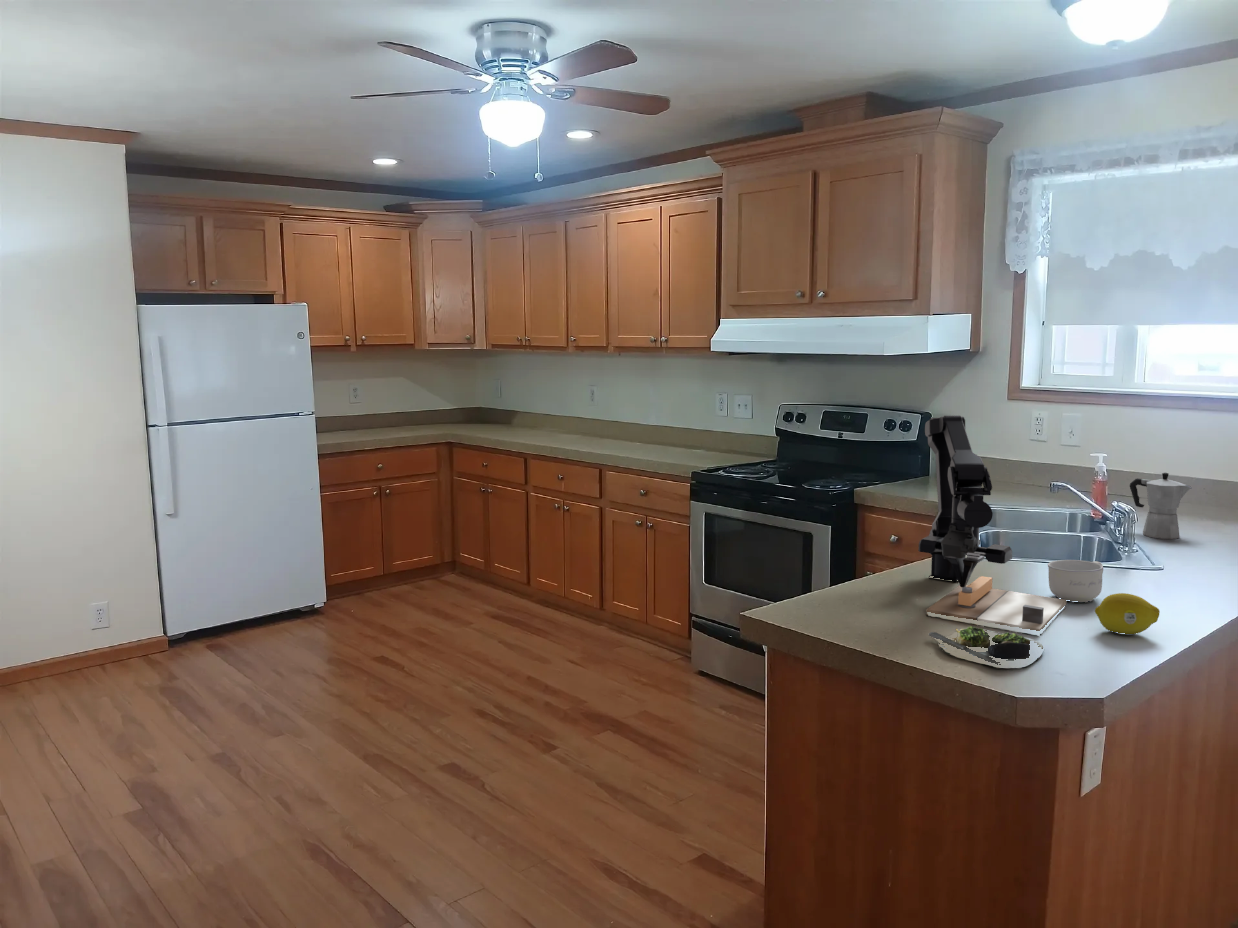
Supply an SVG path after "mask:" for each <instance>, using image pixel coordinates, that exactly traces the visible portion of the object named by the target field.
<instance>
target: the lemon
mask: <svg viewBox="0 0 1238 928" xmlns="http://www.w3.org/2000/svg"><path fill="white" fill-rule="evenodd" d="M1094 612H1095V615H1096V616H1097V617H1098V620H1099V622H1100V624H1101V625H1102V627H1103V628H1104V629H1105V630H1108V631H1109V630H1110V631H1109V632H1111V631H1113V632H1118V633H1125V634H1133V635H1136V633H1137V634H1141V633H1142V632H1144V631H1146V630H1148V629H1149V628H1150V627H1151V626H1152V625H1154V624H1155V623H1156V622H1158V619H1159V617H1160V609H1159V608H1158V607H1157V606H1156V605H1153V604H1151V603H1150V602H1149V601H1147V600H1146V599H1144V598H1142V597H1141V596H1138V595H1135V594H1132V593H1123V592H1118V593H1113V594H1109V595H1106V597H1105V598H1104V599H1103V600H1102V601H1101V602H1100V604H1099V605H1098V606H1096V608H1095V609H1094ZM1113 632H1112V633H1113Z"/></svg>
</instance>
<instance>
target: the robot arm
mask: <svg viewBox="0 0 1238 928" xmlns="http://www.w3.org/2000/svg"><path fill="white" fill-rule="evenodd" d="M966 428H967V427H966V418H965V417H964V416H961V415H959V414H958V415H954V414H953V415H951V414H949V415H943V416H940V417H930V418H929V420H927V421H926V422H925V424H924V433H925V434H924V435H925V437H927V444H928V446H929V448H930V449H931V450H932V452H933V453H934V454H935V467H936V468H935V470H936V487H937V488H936V489H937V490H936V491H937V507H938V508H937V509H938V510H937V511H938V512H937V513H938V514H937V515H936V517H935V519H934V520H933V522H932V524H931V529H930V531H929V535H927V536H925V537H923V538H921V539H920V540H919V542H918V552H920V553H927V554H930V555H931V566H930V568H931V570H930V571H931V573H930V575H928V578H929V577H930V576H934V577H933V578H940V579H944V580H952V581H957V580H958V581H957V582H958V584H959V585H960V587H966V585H968V582H969V580H970V578H971V576H972V574H973V572H974V570H975V568H976V567H977V565H978V563H980V562H982V561H984V560H985V559H986V561H987V562H989V563H994V564H995V563H996V564H1000V565H1001V564H1006V563H1007V562H1008V563H1009V561H1011V560H1012V559H1013V549H1012V548H1011V546H1009V545H1002V544H996V543H994V544H992V545H990V546H988V547H986V546H985V547H984V546H980V545H981V539H980V529H981V528H984V527H986V526H987V525H988V524H989V523H990V522H991V521H992V519H993V510H992V507H991V506H990V505H989V504H988V503H987V502H985V500H984V496H991V495H992V490H993V485H992V481H991V475H990V471H988V467H987V466H985V464H984V461H983V459H982V457H981V456H979V455H978V454H976V453H974V452H973V449H972V447H971V443H970V440H969V437H968V434H967V430H966Z"/></svg>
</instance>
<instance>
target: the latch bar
mask: <svg viewBox="0 0 1238 928" xmlns="http://www.w3.org/2000/svg"><path fill="white" fill-rule="evenodd" d="M967 585H968V586H967V587H962V591H960V592H959V597H958V604H960V605H966V606H971V605H973V604H974V603H975V602H976V601H978V600H979V599H980V598H981V597H982V596H984V595H985V594H986V593H987V592H989V591H990V590H991V589H992V588H993V577H990V576H982V575H980V576H978V578H976V579H975V580H974V581H972V582H971V583H969V584H967Z"/></svg>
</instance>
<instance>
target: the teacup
mask: <svg viewBox="0 0 1238 928" xmlns="http://www.w3.org/2000/svg"><path fill="white" fill-rule="evenodd" d="M1047 567H1048V568H1047V569H1048V586H1049V587H1048V588H1049V590H1050V592H1051V593H1052V594H1053V595H1054V596H1056V598H1057V597H1058V598H1057V599H1059V598H1061V599H1064V600H1070V601H1078V602H1085V603H1089V602H1088V601H1090V602H1092V601H1093V600H1094V599H1096V598H1098V597H1099V596H1100V594H1101V593H1102V589H1103V575H1104V574H1103V573H1104V566H1103V564H1102V563H1101V561H1096V560H1094V561H1089V560H1079V559H1060V560H1053V561H1050V562H1048V563H1047Z"/></svg>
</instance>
